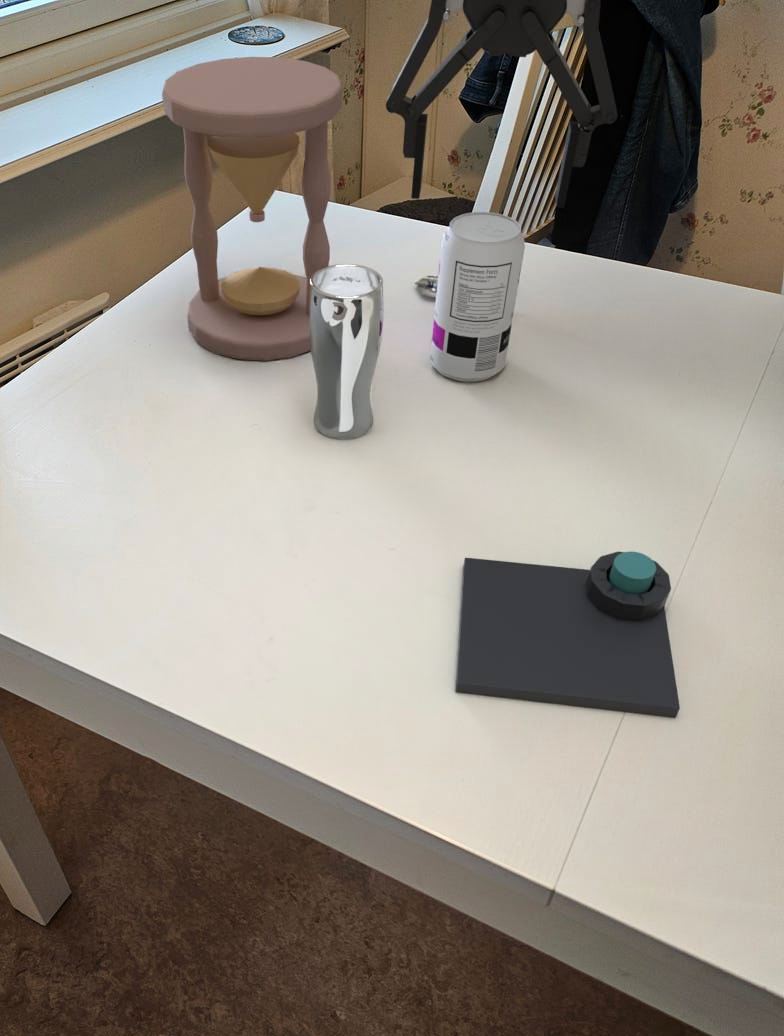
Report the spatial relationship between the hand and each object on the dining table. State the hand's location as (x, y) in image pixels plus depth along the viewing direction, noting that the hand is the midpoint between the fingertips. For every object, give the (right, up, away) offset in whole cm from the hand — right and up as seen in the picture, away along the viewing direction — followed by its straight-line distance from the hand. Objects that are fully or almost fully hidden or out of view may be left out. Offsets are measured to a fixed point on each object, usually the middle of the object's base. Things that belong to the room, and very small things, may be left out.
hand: (487, 197), depth 86 cm
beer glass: (-14, -20, +6) cm, 25 cm away
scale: (+3, -42, -15) cm, 45 cm away
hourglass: (-22, -5, +20) cm, 30 cm away
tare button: (+9, -38, -14) cm, 41 cm away
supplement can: (0, -12, +13) cm, 18 cm away
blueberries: (0, +1, +25) cm, 25 cm away
